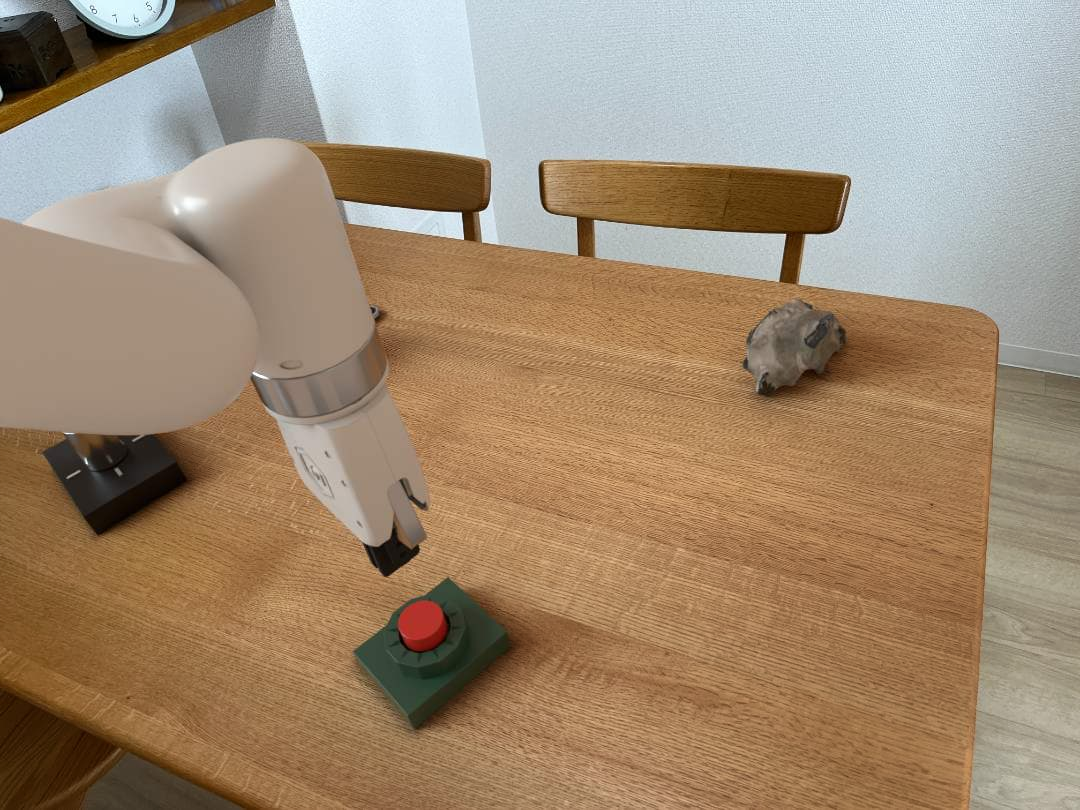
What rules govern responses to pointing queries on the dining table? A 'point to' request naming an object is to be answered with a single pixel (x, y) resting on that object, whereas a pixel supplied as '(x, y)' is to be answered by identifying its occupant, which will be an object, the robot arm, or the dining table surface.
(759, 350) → the decorative stone
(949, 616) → the dining table surface
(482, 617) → the block
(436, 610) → the button
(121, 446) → the hob knob
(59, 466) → the panel
